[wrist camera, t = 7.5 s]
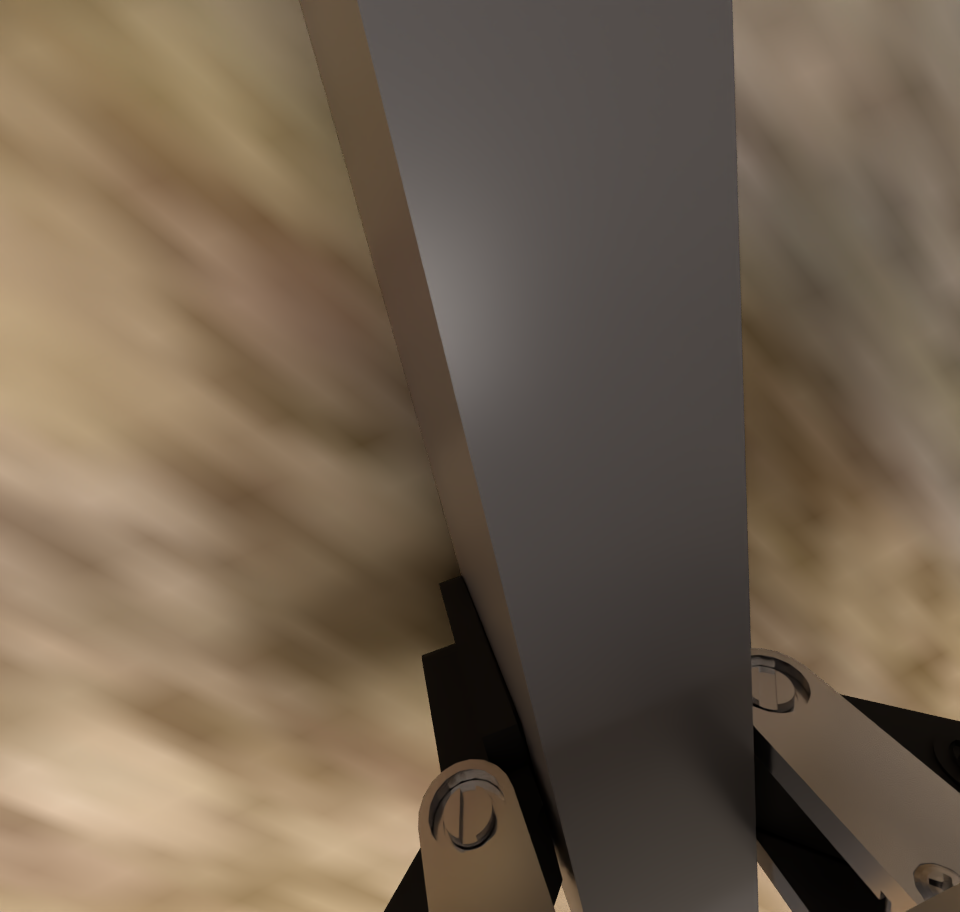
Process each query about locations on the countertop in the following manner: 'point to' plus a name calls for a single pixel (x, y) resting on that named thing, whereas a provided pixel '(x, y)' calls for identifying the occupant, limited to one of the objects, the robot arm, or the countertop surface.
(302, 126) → the countertop surface
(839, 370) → the countertop surface
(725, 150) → the dark grey bar
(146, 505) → the countertop surface
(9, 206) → the countertop surface
